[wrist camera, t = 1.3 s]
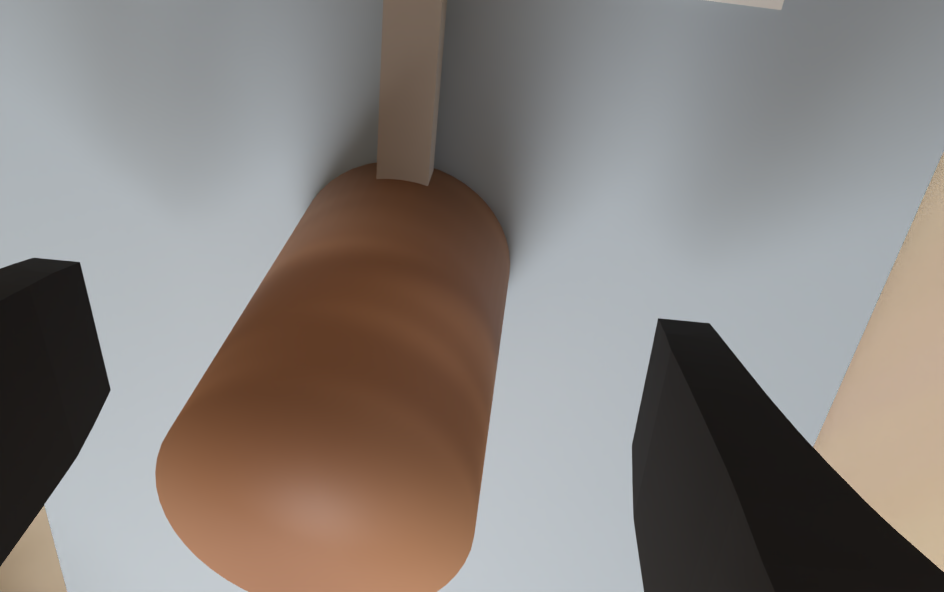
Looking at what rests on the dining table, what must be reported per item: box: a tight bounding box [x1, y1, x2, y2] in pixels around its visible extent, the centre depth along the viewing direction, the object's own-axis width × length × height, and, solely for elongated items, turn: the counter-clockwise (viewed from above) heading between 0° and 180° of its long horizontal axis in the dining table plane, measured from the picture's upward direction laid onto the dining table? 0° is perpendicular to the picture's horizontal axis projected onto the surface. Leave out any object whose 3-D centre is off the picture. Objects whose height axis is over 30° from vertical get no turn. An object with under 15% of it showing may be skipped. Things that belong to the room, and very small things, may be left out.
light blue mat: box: [0, 0, 944, 592], centre depth 11 cm, size 14×27×4 cm, turn 174°
